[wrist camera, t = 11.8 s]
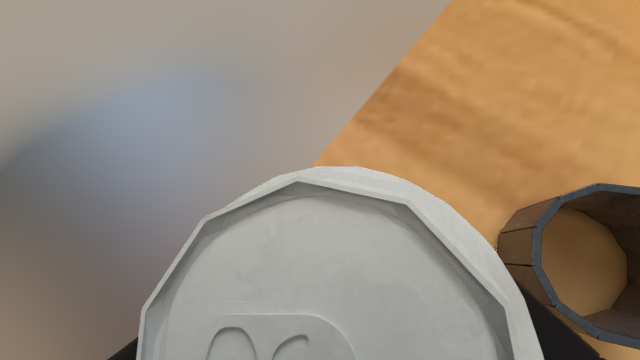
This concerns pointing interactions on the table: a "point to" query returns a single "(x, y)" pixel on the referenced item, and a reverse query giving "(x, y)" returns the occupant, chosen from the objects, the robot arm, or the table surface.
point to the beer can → (337, 279)
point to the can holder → (525, 266)
